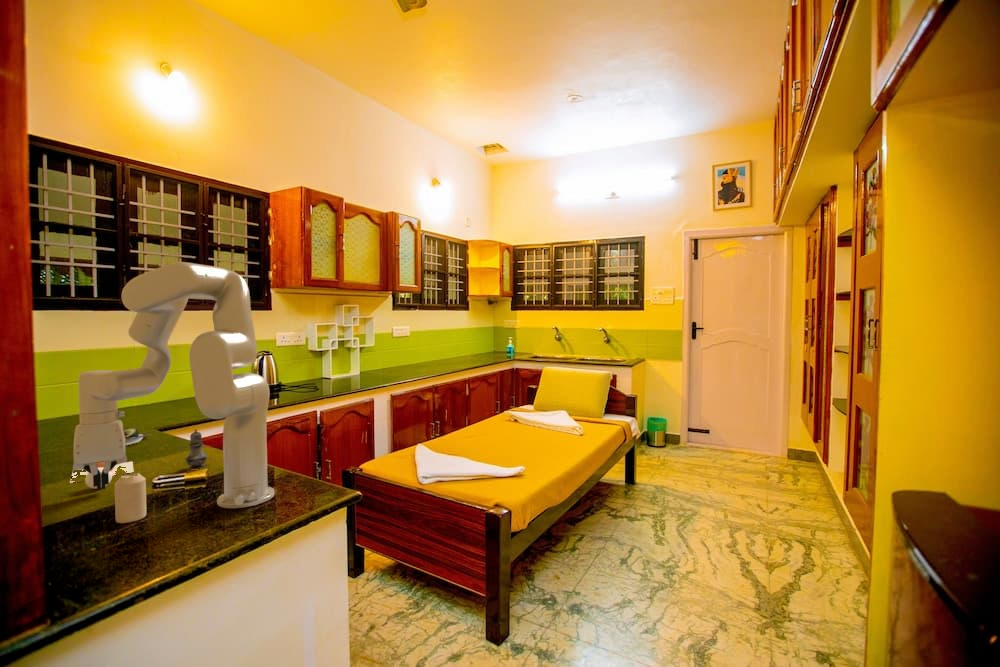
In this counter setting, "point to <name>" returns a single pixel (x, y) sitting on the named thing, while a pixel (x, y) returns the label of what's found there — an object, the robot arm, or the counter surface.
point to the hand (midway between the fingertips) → (101, 488)
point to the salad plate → (133, 436)
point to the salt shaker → (196, 452)
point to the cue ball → (90, 478)
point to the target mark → (128, 468)
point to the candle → (130, 498)
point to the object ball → (102, 465)
